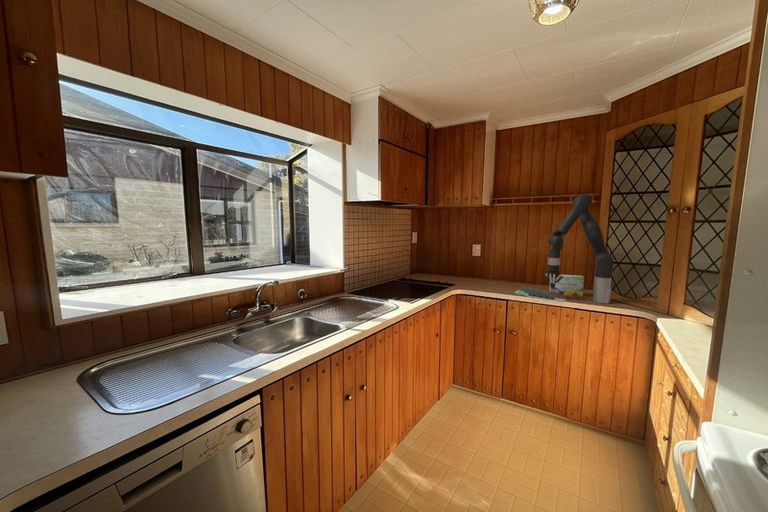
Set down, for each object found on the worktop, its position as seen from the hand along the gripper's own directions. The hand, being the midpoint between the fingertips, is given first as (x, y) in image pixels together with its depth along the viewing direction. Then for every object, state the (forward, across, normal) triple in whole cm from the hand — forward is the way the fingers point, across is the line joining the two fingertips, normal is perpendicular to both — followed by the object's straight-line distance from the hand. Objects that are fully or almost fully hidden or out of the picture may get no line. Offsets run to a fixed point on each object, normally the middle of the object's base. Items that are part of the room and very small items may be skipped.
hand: (552, 288), depth 215 cm
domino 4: (+7, +3, 0) cm, 8 cm away
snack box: (+8, -3, -21) cm, 23 cm away
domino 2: (+7, +11, 0) cm, 13 cm away
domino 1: (+7, +15, 0) cm, 17 cm away
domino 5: (+7, -1, 0) cm, 7 cm away
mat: (+8, +5, 0) cm, 9 cm away
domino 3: (+7, +7, 0) cm, 10 cm away
